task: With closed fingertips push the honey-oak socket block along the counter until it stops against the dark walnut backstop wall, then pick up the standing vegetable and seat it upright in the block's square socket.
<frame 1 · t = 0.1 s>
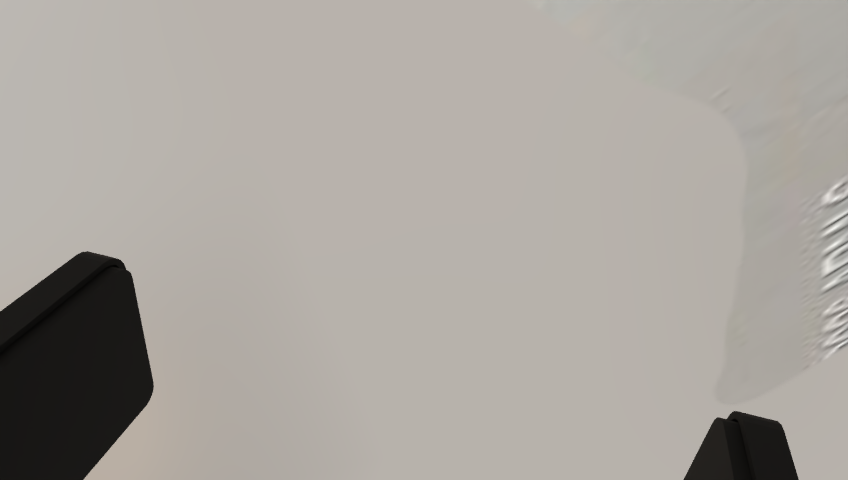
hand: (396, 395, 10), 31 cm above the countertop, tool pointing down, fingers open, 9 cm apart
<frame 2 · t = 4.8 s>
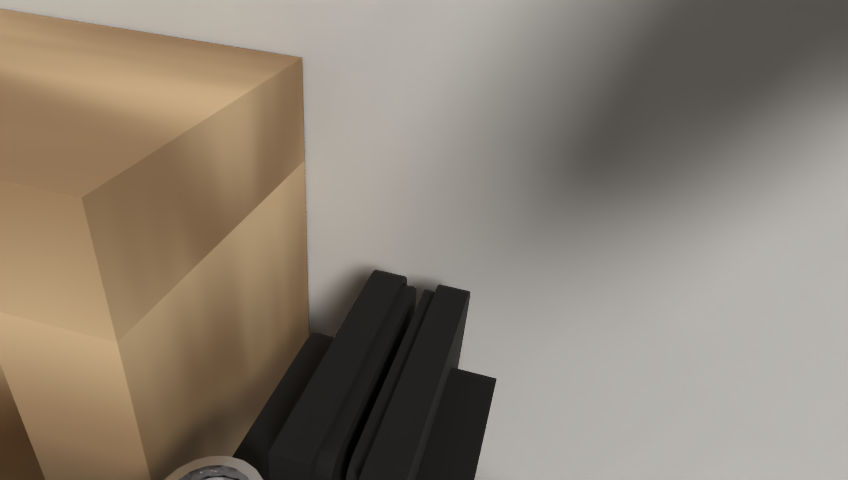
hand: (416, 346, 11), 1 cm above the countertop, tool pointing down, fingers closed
socket block: (14, 308, 11), point 3 cm above the countertop, slide at 0.3 cm, touching gripper
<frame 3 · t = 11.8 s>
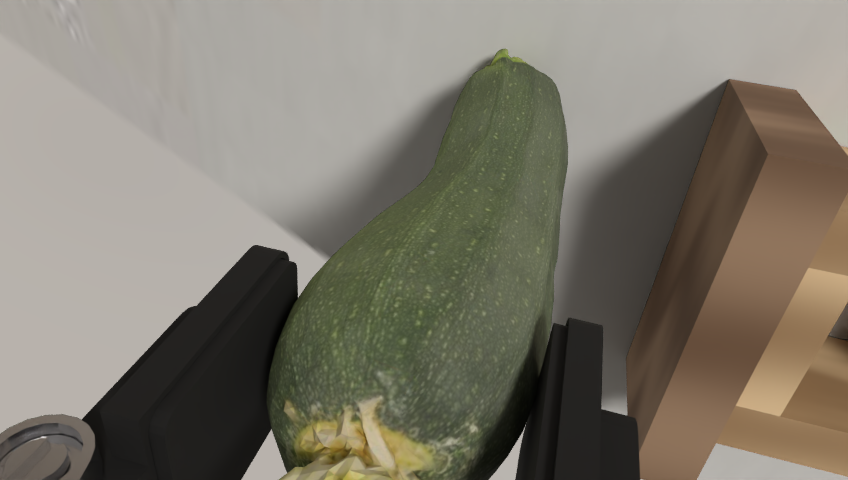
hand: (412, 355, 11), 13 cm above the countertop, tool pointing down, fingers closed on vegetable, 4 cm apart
backstop wall: (698, 244, 23), on the countertop
vegetable: (514, 101, 22), on the countertop, touching gripper
when the fingers open (15 cm above the countertop, at t = 16.5 s): vegetable drops 1 cm, resting on socket block.
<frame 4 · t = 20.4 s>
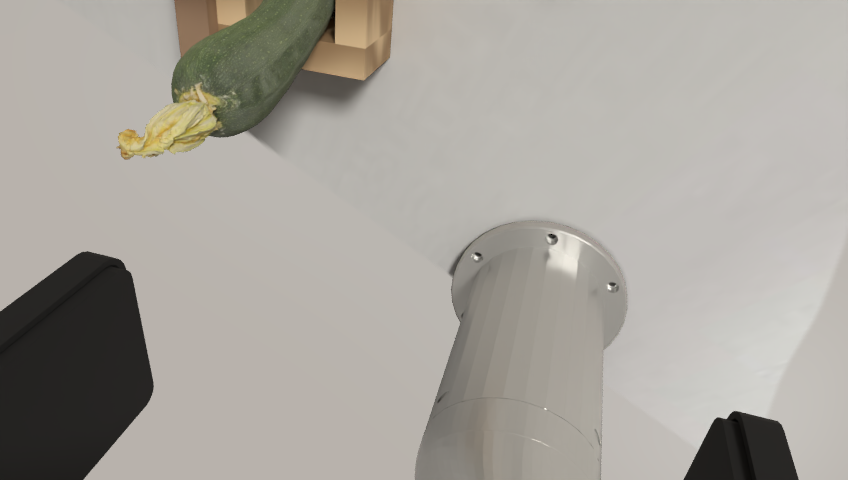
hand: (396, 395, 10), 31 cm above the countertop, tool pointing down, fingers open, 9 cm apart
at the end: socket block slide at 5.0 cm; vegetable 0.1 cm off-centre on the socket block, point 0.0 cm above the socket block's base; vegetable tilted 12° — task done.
